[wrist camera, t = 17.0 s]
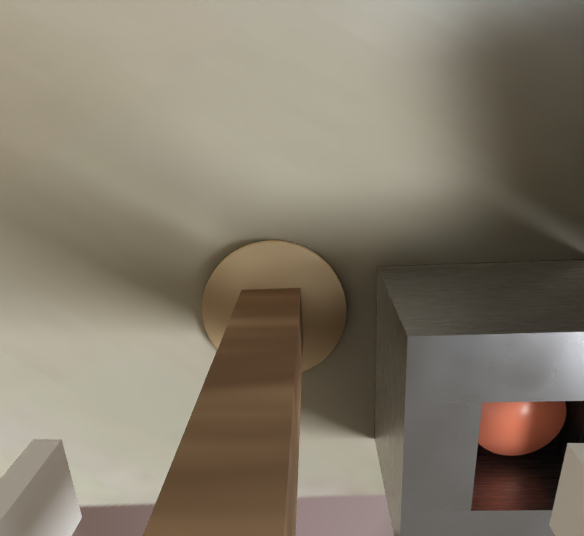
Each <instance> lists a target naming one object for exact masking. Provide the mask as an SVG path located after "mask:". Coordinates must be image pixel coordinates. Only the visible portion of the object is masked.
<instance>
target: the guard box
mask: <svg viewBox="0 0 584 536" xmlns="http://www.w3.org/2000/svg"><path fill="white" fill-rule="evenodd" d="M545 401H565V404H566V418H565V422H564V424H563V427H562V428H561V430H560V432H559V433H558V434H557V436H556V437H555V438H554V439H553V440H552V441H551V442H549V443H548V444H547V445H545V446H544V447H542V448H540V449H538V450H536V451H533V452H531V453H527V454H523V455H514V456H509V455H500V454H496V453H493V452H491V451H489V450H487V449H485V448H484V447H482V446H481V445H480V444H479V443H478V439H479V429H480V420H481V410H482V403H490V402H545ZM375 442H376V447H377V452H378V457H379V462H380V468H381V473H382V478H383V483H384V488H385V493H386V498H387V502H388V508H389V513H390V518H391V523H392V528H393V533H394V536H555V535H554V533H553V531H552V529H551V527H550V526H549V524H550V519H551V515H552V510H553V506H554V501H555V497H556V492H557V488H558V483H559V479H560V474H561V470H562V465H563V461H564V456H565V452H566V447H567V443H584V260H555V261H526V262H497V263H468V264H439V265H410V266H382V267H377V318H376V398H375Z"/></svg>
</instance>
